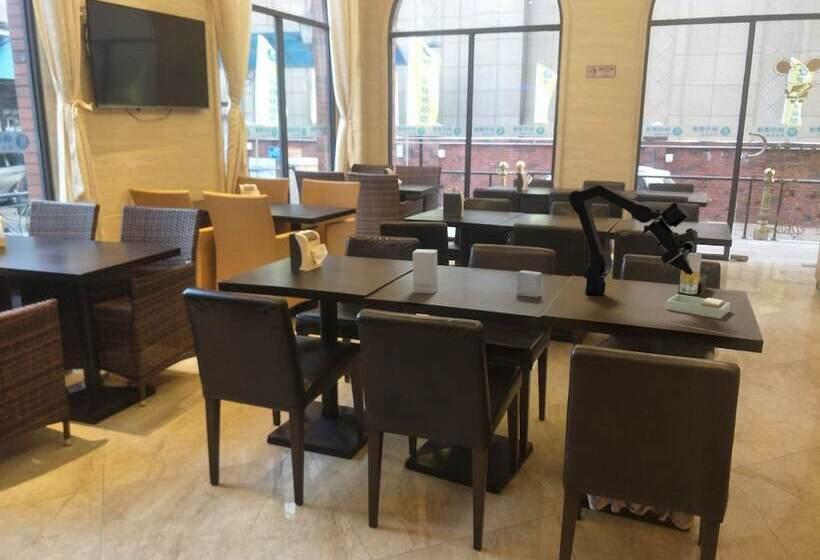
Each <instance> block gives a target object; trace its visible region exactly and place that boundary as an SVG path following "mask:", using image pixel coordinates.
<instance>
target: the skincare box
mask: <svg viewBox="0 0 820 560" xmlns="http://www.w3.org/2000/svg"><path fill="white" fill-rule="evenodd" d="M438 273H439V272H438V249H427V248H426V249H420V248H417V249H415V250H414V251H413V252H412V291H413V293H415V294H430V295H434V294H435V293H436V292H437V291H438V290H439V289H438V288H439V287H438Z"/></svg>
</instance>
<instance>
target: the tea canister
mask: <svg viewBox="0 0 820 560" xmlns="http://www.w3.org/2000/svg"><path fill="white" fill-rule="evenodd" d="M685 259H686V261H687V263H688V264H689V266H690V268H691V269H692V271H693V273H692V274H688V273H686V272H684V271H683V270H681V269H680V270H681V271H680V277H679V283H680V288H679V287H678V289H679V292H681V293H685V294H697V289H698V284H699V276H700V274H701V264H702V254H701V253H696V252H693V253H685Z"/></svg>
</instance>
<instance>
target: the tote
mask: <svg viewBox="0 0 820 560" xmlns="http://www.w3.org/2000/svg"><path fill="white" fill-rule="evenodd" d="M705 299H706V298H703V297H700V298H698V297H692V296H686V295H680V294H678V293H677V294H675V295H673V296H671V297H670V298H669V299H667V300H666V305H665V306H666V307H665V310H670V311H674V312H680V313H686V314H691V315H692V314H693V315H697V316H701V317H702V316H703V317H709V318H714V319H720V320H721V319H722V318H724V317H725V316H726V315H727V314H728V313H730V306H731V302H727V301H724V304H723V307H722V308H721V309H717V308H711V307H705V306H701V304H702V301H704V300H705Z"/></svg>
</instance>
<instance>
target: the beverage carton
mask: <svg viewBox="0 0 820 560" xmlns="http://www.w3.org/2000/svg"><path fill="white" fill-rule="evenodd" d="M708 281H709V274H706V273H705V274H704V273H700V276H699V284H698V289H697V294H685V293H681V292H679V288H680V282H679V284H678V290H677V294H680V295H686V296H692V297H698V298H702V296H703V294H704V293H705V291H706V290H707V286H708Z"/></svg>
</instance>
